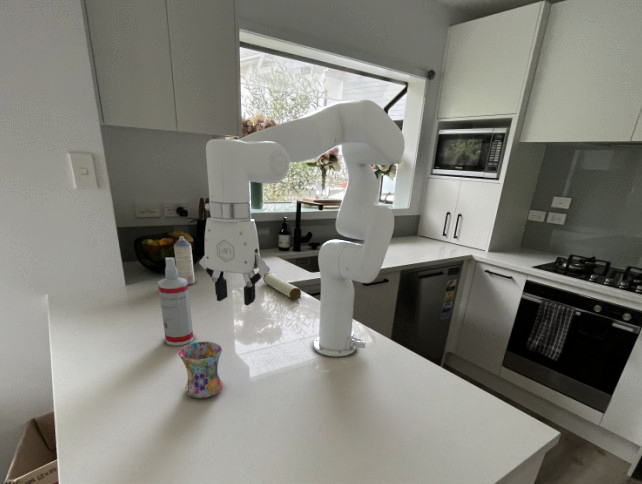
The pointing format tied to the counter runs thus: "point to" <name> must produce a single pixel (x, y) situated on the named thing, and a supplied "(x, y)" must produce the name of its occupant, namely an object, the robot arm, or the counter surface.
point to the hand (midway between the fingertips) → (235, 300)
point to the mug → (202, 368)
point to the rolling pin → (282, 286)
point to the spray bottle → (175, 306)
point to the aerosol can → (184, 260)
